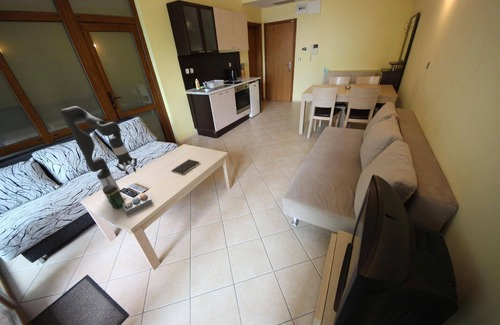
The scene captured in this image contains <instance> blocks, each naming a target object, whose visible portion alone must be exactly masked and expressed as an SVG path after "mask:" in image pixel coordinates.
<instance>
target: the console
mask: <svg viewBox="0 0 500 325" xmlns="http://www.w3.org/2000/svg"><path fill="white" fill-rule="evenodd" d="M143 194H146V196H147V199H145V200H143V201H142V199H141V197H140V195H138V196H137V197H138V199H139V201H140V202H138V203H136V204H134V202H133V201H132V199H133V198H132V199H130V200H128V201H130V202H131V204H132V206H130V207H128V208H126V206H125V204H124V203H123V204H122V205H123V207H122V208H123V209H124V210H123V211H124V212H125V214H126V216H127V217H128V216H129V215H131V214H134V213H135V212H138V211H140V210H143V209H144V208H146V207H148V206H150V205H152V204H153V201H152V199H151V197H150V196H149V194H148V192H144V193H143Z"/></svg>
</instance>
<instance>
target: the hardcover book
mask: <svg viewBox="0 0 500 325" xmlns="http://www.w3.org/2000/svg"><path fill="white" fill-rule="evenodd" d="M199 164H200V161H198V160H192V159H187V160H185V161H184V162H182V163H180V164H179V165H177V166H176V167H174V168H172V170H171V172H172V173H175V174H179V175H182V176H184V175H185V174H187V172H189V171H191V170H192V169H193V168H195V167H196V166H198V165H199Z"/></svg>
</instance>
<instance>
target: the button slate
mask: <svg viewBox="0 0 500 325" xmlns="http://www.w3.org/2000/svg"><path fill="white" fill-rule="evenodd" d="M132 201H133V202H134V204H136V203H138V202H140V201H139V199H138V196H136V197H133V198H132Z"/></svg>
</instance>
